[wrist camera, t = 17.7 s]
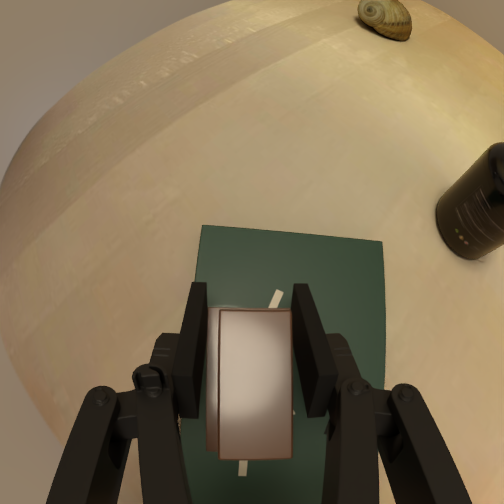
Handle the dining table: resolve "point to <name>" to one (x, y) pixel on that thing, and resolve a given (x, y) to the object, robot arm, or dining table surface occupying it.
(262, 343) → the duster
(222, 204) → the dining table surface
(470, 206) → the supplement bottle
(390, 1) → the seashell
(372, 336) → the chalkboard
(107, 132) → the dining table surface
